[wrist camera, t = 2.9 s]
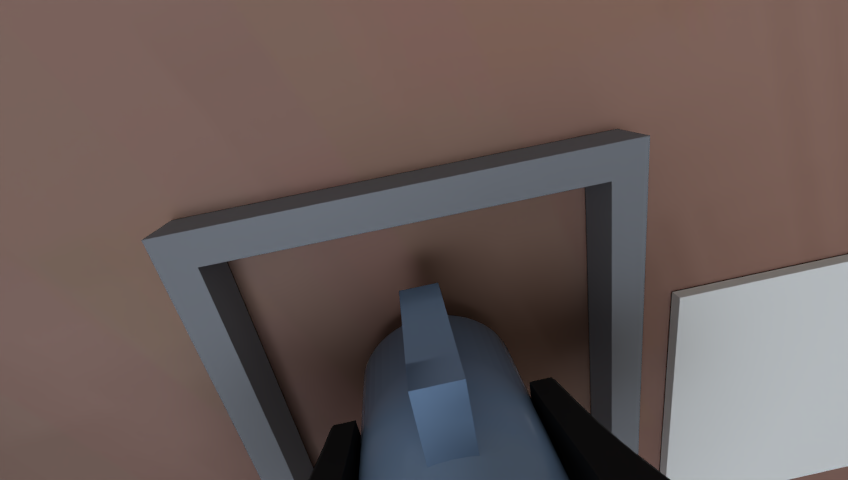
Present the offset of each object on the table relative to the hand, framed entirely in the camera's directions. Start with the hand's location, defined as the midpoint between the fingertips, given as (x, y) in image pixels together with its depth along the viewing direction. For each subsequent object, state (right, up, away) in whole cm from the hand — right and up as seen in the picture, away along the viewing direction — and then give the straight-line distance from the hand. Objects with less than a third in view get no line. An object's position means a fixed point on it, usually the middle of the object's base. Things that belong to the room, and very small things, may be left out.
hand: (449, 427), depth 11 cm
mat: (+14, 0, +5) cm, 15 cm away
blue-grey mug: (0, +1, +2) cm, 2 cm away
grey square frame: (0, +1, +3) cm, 3 cm away
